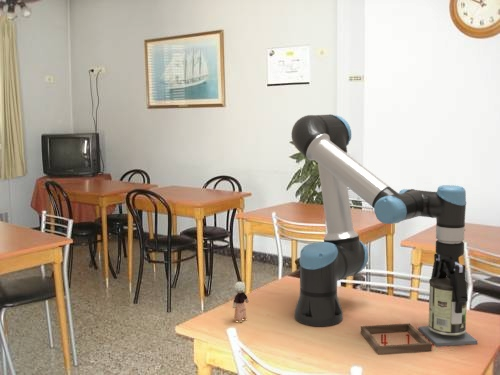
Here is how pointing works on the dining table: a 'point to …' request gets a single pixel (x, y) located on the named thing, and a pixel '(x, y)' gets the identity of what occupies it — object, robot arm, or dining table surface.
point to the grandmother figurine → (240, 302)
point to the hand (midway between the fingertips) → (447, 316)
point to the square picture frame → (393, 349)
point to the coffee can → (443, 308)
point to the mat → (446, 338)
